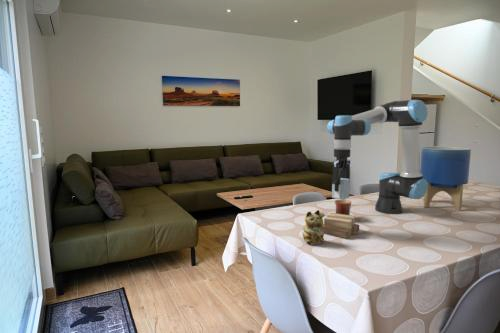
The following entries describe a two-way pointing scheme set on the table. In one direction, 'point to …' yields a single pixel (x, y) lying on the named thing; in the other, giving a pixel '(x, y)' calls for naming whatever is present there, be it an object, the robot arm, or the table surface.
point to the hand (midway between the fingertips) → (340, 196)
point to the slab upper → (339, 221)
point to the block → (343, 188)
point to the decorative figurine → (313, 227)
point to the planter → (445, 172)
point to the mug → (343, 207)
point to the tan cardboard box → (340, 231)
